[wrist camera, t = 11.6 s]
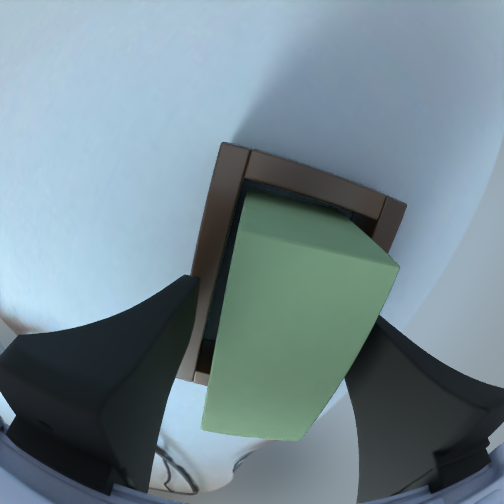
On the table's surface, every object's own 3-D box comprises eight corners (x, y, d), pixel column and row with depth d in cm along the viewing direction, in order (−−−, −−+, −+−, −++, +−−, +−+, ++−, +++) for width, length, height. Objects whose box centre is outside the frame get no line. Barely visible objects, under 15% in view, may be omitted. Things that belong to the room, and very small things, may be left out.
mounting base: (381, 192, 11) (408, 204, 9) (299, 371, 15) (304, 402, 13) (229, 142, 10) (221, 141, 8) (183, 346, 14) (173, 377, 12)
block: (337, 208, 11) (401, 266, 6) (289, 348, 14) (300, 441, 9) (247, 187, 11) (237, 230, 6) (217, 336, 14) (200, 430, 9)
